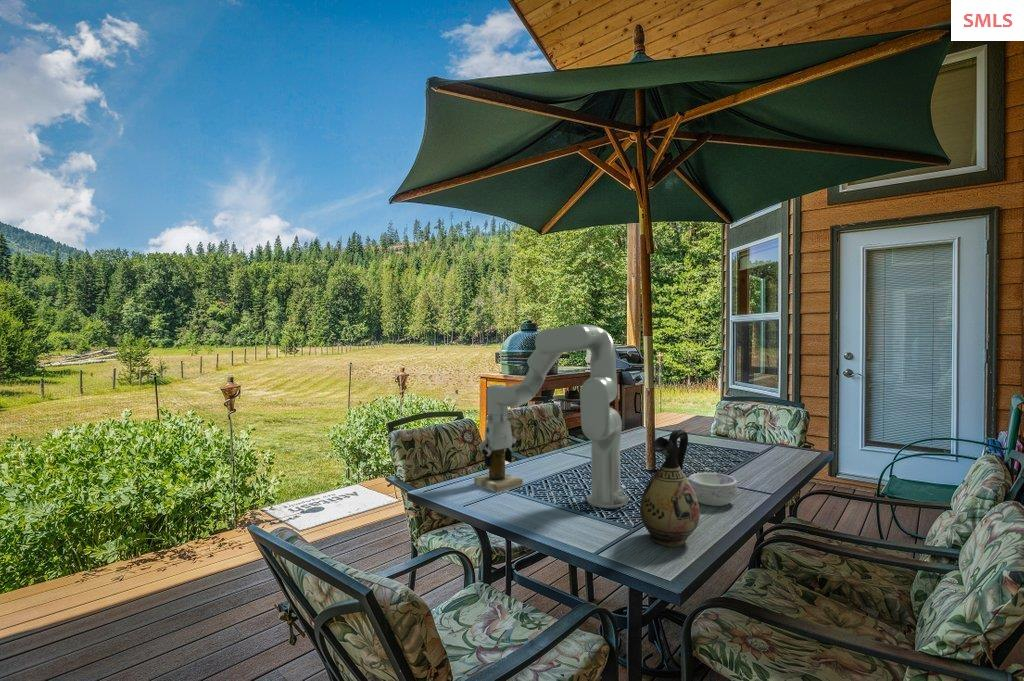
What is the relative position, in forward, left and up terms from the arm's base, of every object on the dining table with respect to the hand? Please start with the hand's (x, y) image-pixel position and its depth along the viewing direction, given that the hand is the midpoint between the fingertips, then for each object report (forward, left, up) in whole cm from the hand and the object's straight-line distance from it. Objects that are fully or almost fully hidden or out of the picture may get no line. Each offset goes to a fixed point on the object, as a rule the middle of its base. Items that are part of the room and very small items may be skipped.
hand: (498, 463), depth 186 cm
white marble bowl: (-62, -42, -8) cm, 75 cm away
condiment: (0, 0, -6) cm, 6 cm away
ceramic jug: (-70, -5, -8) cm, 70 cm away
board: (0, 0, -8) cm, 8 cm away
